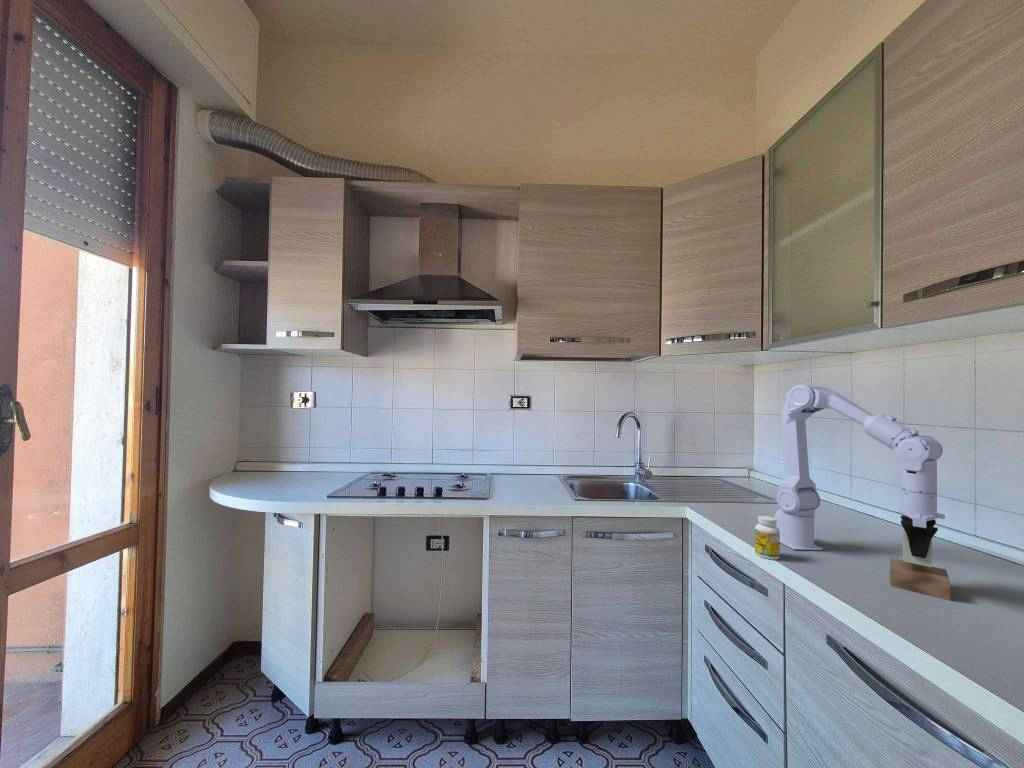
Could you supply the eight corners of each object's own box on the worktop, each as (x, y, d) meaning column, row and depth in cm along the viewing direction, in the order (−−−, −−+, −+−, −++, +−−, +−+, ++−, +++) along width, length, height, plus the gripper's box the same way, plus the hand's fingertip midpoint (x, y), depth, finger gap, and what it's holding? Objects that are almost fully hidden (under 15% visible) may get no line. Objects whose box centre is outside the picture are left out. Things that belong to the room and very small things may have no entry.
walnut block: (890, 587, 90) (890, 569, 90) (890, 574, 96) (890, 557, 97) (950, 602, 84) (950, 582, 84) (945, 588, 90) (946, 569, 91)
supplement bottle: (784, 559, 103) (785, 520, 103) (766, 560, 102) (766, 521, 102) (767, 551, 108) (767, 514, 109) (749, 552, 107) (750, 515, 108)
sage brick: (902, 561, 90) (903, 533, 90) (902, 555, 94) (902, 529, 94) (931, 567, 87) (931, 538, 87) (930, 561, 91) (930, 533, 91)
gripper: (947, 500, 83) (947, 568, 82) (942, 489, 93) (942, 550, 93) (899, 493, 87) (899, 558, 87) (899, 484, 98) (898, 541, 98)
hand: (918, 553), depth 90 cm, fingers closed on sage brick, 4 cm apart
